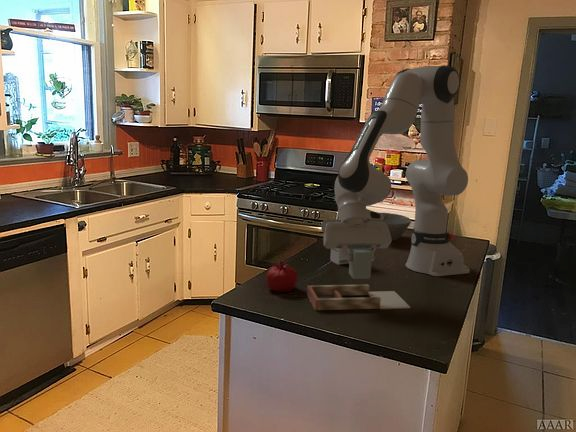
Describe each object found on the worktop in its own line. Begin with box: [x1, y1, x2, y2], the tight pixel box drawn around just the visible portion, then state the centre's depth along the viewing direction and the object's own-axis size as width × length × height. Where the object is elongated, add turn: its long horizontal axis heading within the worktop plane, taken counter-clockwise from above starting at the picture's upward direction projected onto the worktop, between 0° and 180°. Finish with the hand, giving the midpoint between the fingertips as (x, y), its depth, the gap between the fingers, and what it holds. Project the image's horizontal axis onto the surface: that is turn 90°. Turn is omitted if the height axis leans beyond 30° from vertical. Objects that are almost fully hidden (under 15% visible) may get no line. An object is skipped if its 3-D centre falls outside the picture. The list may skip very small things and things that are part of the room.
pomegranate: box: [265, 260, 299, 293], centre depth 149 cm, size 10×10×9 cm
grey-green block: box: [348, 247, 373, 280], centre depth 140 cm, size 5×5×8 cm
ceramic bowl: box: [380, 212, 412, 242], centre depth 212 cm, size 22×23×10 cm
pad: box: [367, 290, 411, 310], centre depth 144 cm, size 9×12×1 cm
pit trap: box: [306, 284, 343, 311], centre depth 141 cm, size 9×11×3 cm
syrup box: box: [330, 249, 350, 266], centre depth 177 cm, size 6×6×14 cm
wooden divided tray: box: [311, 283, 381, 311], centre depth 142 cm, size 18×11×3 cm, turn 99°
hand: (361, 260), depth 139 cm, fingers closed on grey-green block, 5 cm apart
